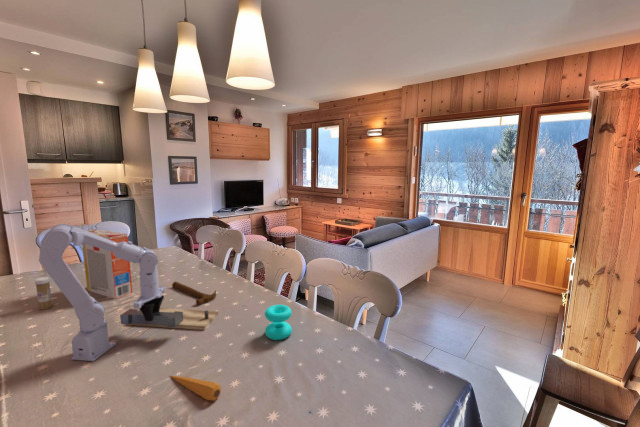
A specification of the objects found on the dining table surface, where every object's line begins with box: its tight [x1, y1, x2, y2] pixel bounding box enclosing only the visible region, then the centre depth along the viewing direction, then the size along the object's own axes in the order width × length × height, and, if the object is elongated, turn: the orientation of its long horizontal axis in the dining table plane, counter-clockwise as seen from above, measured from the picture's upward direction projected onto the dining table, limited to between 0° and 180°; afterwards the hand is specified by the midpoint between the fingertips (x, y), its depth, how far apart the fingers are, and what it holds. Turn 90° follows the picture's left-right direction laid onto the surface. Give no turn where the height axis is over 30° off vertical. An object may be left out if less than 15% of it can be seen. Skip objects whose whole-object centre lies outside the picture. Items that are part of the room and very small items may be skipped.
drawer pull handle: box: [119, 308, 183, 329], centre depth 108 cm, size 5×21×4 cm, turn 84°
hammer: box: [171, 281, 217, 306], centre depth 146 cm, size 12×3×30 cm
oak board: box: [128, 307, 219, 331], centre depth 120 cm, size 12×32×4 cm, turn 84°
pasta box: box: [81, 229, 133, 300], centre depth 145 cm, size 23×8×30 cm, turn 65°
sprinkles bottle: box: [34, 276, 53, 310], centre depth 129 cm, size 5×5×14 cm
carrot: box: [170, 375, 222, 402], centre depth 83 cm, size 20×4×4 cm, turn 62°
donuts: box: [264, 304, 293, 341], centre depth 110 cm, size 10×10×10 cm
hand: (152, 318), depth 108 cm, fingers closed on drawer pull handle, 3 cm apart
